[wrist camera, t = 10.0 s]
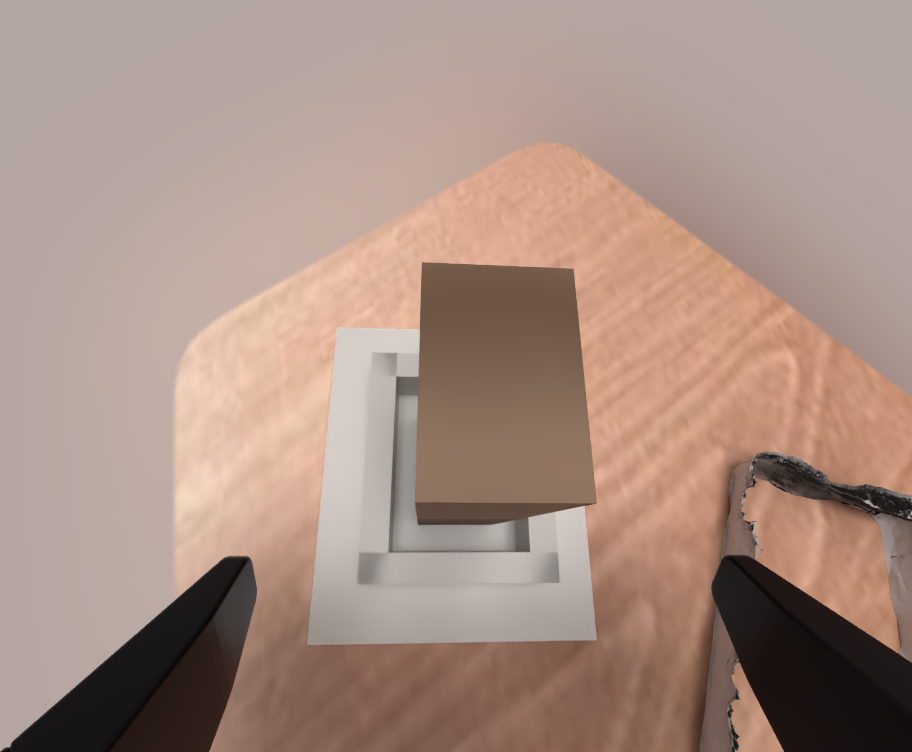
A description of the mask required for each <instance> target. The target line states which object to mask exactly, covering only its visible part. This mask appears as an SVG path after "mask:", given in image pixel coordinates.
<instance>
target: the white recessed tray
mask: <svg viewBox="0 0 912 752" xmlns="http://www.w3.org/2000/svg"><path fill="white" fill-rule="evenodd" d="M419 344H420V330H415V329H382V328H349V327H337V333H336V343H335V354H334V364H333V375H332V385H331V396H330V406H329V417H328V427H327V438H326V448H325V459H324V469H323V480H322V491H321V501H320V512H319V522H318V533H317V543H316V554H315V564H314V575H313V585H312V596H311V606H310V617H309V627H308V638H307V645H352V644H410V643H467V642H525V641H583V640H597V636H596V626H595V615H594V604H593V593H592V582H591V572H590V561H589V550H588V539H587V528H586V518H585V507H584V506H582V507H577V508H572V509H567V510H562V511H557V512H552V513H547V514H543V515H538V516H533V517H528V518H523V519H518V520H513V521H508V522H503V523H499V524H494V525H418V521H417V514H416V507H415V478H416V444H417V411H418V377H419Z"/></svg>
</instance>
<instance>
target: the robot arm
mask: <svg viewBox="0 0 912 752" xmlns="http://www.w3.org/2000/svg"><path fill="white" fill-rule="evenodd" d="M256 595H257V587H256V581H255V576H254V570H253V565H252V561H251V559H250V557H248V556H228V557H225V558H223V559H222V560H221V561H220V562H219V563H217V564H216V565H215V566H214V567H213V568H212V569H210V570H209V571H208V572H207V573H206V574H205V575H204V576H202V577H201V578H200V579H199V580H198V581H197V582H196V583H194V584H193V585H192V586H191V587H190V588H189V589H187V590H186V591H185V592H184V593H183V594H182V595H181V596H179V597H178V598H177V599H176V600H175V601H174V602H172V603H171V604H170V605H169V606H168V607H167V608H166V609H165V610H163V611H162V612H161V613H160V614H159V615H158V616H156V617H155V618H154V619H153V620H152V621H151V622H150V623H148V624H147V625H146V626H145V627H144V628H143V629H141V630H140V631H139V632H138V633H137V634H136V635H134V636H133V637H132V638H131V639H130V640H129V641H128V642H126V643H125V644H124V645H123V646H122V647H121V648H120V649H118V650H117V651H116V652H115V653H114V654H113V655H111V656H110V657H109V658H108V659H107V660H106V661H105V662H104V663H102V664H101V665H100V666H99V667H98V668H97V669H95V670H94V671H93V672H92V673H91V674H90V675H88V676H87V677H86V678H85V679H84V680H83V681H82V682H80V683H79V684H78V685H77V686H76V687H75V688H73V689H72V690H71V691H70V692H69V693H68V694H67V695H65V696H64V697H63V698H62V699H61V700H60V701H58V702H57V703H56V704H55V705H54V706H53V707H52V708H50V709H49V710H48V711H47V712H46V713H45V714H43V715H42V716H41V717H40V718H39V719H38V720H37V721H36V722H34V723H33V724H32V725H31V726H30V727H28V728H27V729H26V730H25V731H24V732H23V733H22V734H21V735H20V736H18V737H17V738H16V739H15V740H14V741H13V742H12V743H11V746H10V748H9V747H6V748H4V749H3V750H2V751H1V752H209V751H210V748H211V745H212V743H213V740H214V737H215V735H216V732H217V729H218V727H219V724H220V721H221V719H222V716H223V713H224V711H225V708H226V705H227V702H228V699H229V697H230V694H231V691H232V687H233V684H234V680H235V677H236V673H237V669H238V666H239V662H240V658H241V654H242V650H243V647H244V643H245V639H246V635H247V632H248V628H249V624H250V620H251V617H252V613H253V609H254V605H255V601H256ZM712 595H713V598H714V601H715V603H716V606H717V608H718V611H719V613H720V615H721V618H722V620H723V623H724V625H725V628H726V630H727V632H728V635H729V637H730V640H731V642H732V645H733V647H734V649H735V652H736V654H737V657H738V659H739V662H740V664H741V666H742V669H743V671H744V673H745V675H746V678H747V680H748V682H749V684H750V686H751V688H752V690H753V692H754V694H755V696H756V698H757V700H758V702H759V704H760V706H761V708H762V710H763V712H764V714H765V715H766V717H767V719H768V721H769V723H770V725H771V727H772V729H773V731H774V733H775V735H776V737H777V739H778V741H779V743H780V745H781V746H782V748H783V750H784V752H912V662H910V661H909V660H907V659H906V658H904V657H903V656H901V655H899V654H898V653H896V652H895V651H893V650H892V649H890V648H889V647H887V646H886V645H884V644H883V643H881V642H880V641H878V640H877V639H875V638H874V637H872V636H870V635H869V634H867V633H866V632H864V631H863V630H861V629H860V628H858V627H857V626H855V625H854V624H852V623H851V622H849V621H848V620H846V619H845V618H843V617H841V616H840V615H838V614H837V613H835V612H834V611H832V610H831V609H829V608H828V607H826V606H825V605H823V604H822V603H820V602H819V601H817V600H816V599H814V598H812V597H811V596H809V595H808V594H806V593H805V592H803V591H802V590H800V589H799V588H797V587H796V586H794V585H793V584H791V583H790V582H788V581H787V580H785V579H783V578H782V577H780V576H779V575H777V574H776V573H774V572H773V571H771V570H770V569H768V568H767V567H765V566H764V565H762V564H761V563H759V562H758V561H756V560H754V559H753V558H751V557H750V556H747V555H725V556H724V557H723V558H722V559H721V562H720V564H719V567H718V569H717V572H716V574H715V577H714V579H713V582H712Z"/></svg>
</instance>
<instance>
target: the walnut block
mask: <svg viewBox="0 0 912 752" xmlns="http://www.w3.org/2000/svg"><path fill="white" fill-rule="evenodd" d="M596 503H597V501H596V491H595V481H594V471H593V461H592V451H591V441H590V431H589V421H588V411H587V401H586V391H585V381H584V371H583V361H582V351H581V341H580V331H579V320H578V310H577V300H576V290H575V280H574V270H573V269H566V268H542V267H518V266H495V265H471V264H447V263H423V262H422V277H421V310H420V344H419V377H418V411H417V444H416V478H415V507H416V514H417V521H418V525H494V524H499V523H503V522H508V521H513V520H518V519H523V518H528V517H533V516H538V515H543V514H547V513H552V512H557V511H562V510H567V509H572V508H577V507H582V506H587V505H592V504H596Z"/></svg>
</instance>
